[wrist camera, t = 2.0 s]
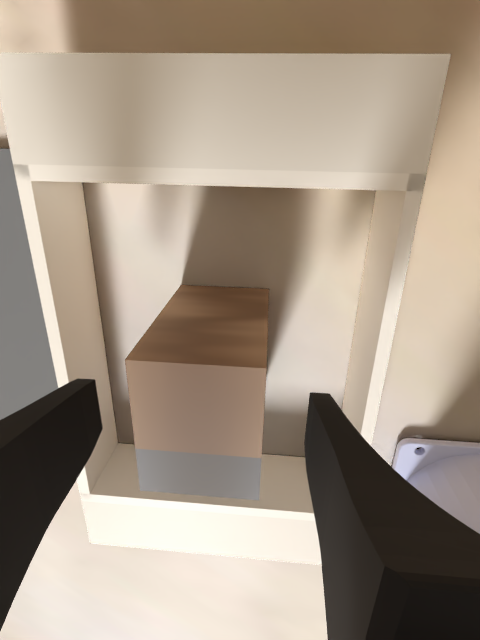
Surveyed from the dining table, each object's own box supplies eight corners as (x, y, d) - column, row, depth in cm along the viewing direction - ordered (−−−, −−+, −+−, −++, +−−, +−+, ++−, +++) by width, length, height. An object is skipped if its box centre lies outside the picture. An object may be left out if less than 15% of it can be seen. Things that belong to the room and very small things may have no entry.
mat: (42, 149, 15) (36, 149, 15) (94, 454, 21) (91, 460, 21) (-119, 146, 16) (-128, 146, 15) (-21, 446, 22) (-26, 450, 21)
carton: (407, 80, 13) (450, 53, 10) (335, 506, 21) (346, 567, 18) (54, 77, 14) (-10, 52, 11) (116, 488, 22) (89, 543, 19)
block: (268, 288, 17) (266, 368, 10) (263, 383, 19) (259, 500, 12) (181, 284, 17) (124, 359, 10) (185, 378, 19) (139, 490, 12)
